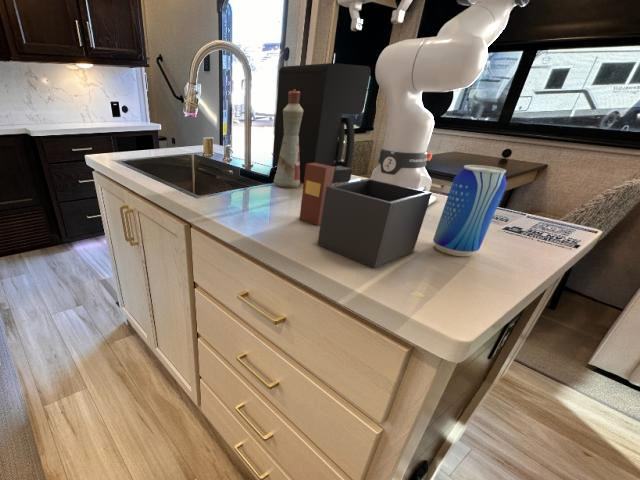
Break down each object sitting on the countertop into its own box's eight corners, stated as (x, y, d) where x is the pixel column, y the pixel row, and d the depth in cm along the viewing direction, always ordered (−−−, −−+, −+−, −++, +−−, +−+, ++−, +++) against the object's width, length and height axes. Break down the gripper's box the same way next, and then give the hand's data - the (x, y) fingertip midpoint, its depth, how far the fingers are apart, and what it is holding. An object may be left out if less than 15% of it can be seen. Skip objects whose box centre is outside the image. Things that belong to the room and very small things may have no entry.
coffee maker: (359, 183, 122) (384, 65, 103) (318, 188, 113) (337, 60, 95) (309, 169, 142) (322, 68, 124) (271, 172, 134) (278, 65, 115)
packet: (307, 216, 86) (314, 162, 79) (325, 223, 82) (335, 166, 75) (299, 218, 85) (305, 163, 78) (317, 225, 81) (325, 168, 74)
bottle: (269, 183, 118) (276, 88, 103) (293, 182, 120) (303, 89, 105) (278, 189, 111) (286, 88, 96) (303, 188, 113) (315, 89, 98)
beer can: (483, 260, 66) (521, 174, 57) (437, 255, 67) (468, 170, 59) (468, 244, 73) (499, 165, 64) (426, 240, 74) (452, 162, 66)
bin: (357, 232, 77) (368, 178, 71) (413, 251, 68) (432, 192, 62) (317, 244, 70) (326, 186, 64) (374, 268, 61) (391, 203, 55)
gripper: (461, -86, 56) (434, 21, 62) (358, -47, 70) (345, 36, 76) (442, -101, 52) (415, 13, 59) (338, -58, 67) (326, 31, 73)
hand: (375, 26), depth 68 cm, fingers open, 8 cm apart
